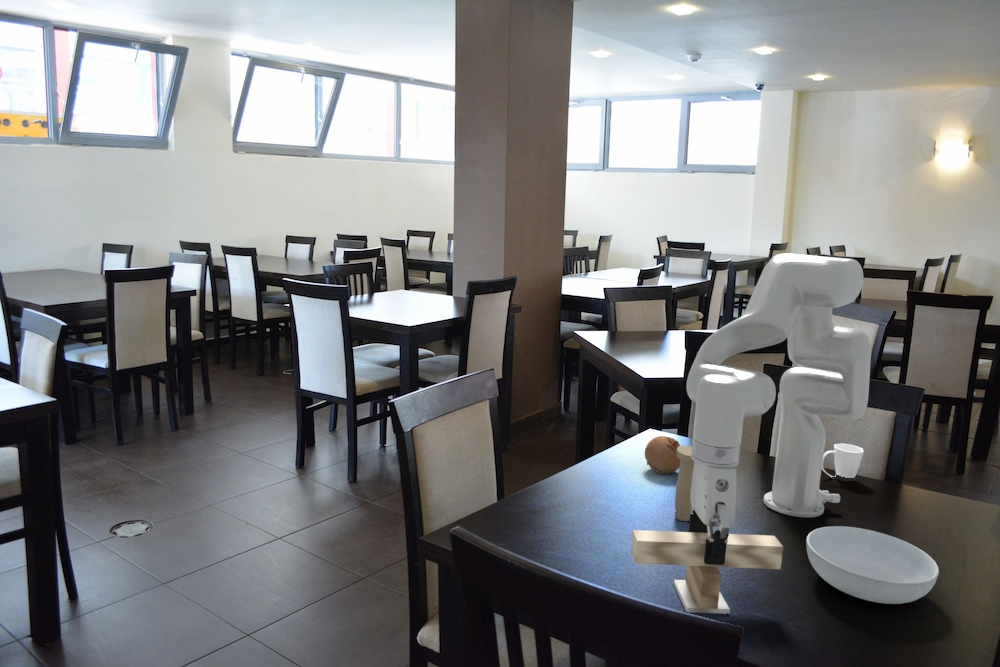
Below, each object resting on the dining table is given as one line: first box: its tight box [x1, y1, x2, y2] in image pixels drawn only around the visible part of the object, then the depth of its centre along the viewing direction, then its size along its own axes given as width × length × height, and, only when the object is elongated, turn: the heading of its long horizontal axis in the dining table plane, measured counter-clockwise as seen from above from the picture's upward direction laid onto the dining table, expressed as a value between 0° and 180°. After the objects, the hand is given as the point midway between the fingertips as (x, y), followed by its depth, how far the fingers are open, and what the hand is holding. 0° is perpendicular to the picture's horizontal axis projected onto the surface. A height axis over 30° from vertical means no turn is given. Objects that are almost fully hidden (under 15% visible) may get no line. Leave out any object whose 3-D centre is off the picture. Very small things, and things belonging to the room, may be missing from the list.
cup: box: [821, 443, 865, 478], centre depth 184 cm, size 7×10×8 cm
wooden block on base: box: [673, 566, 731, 615], centre depth 125 cm, size 7×9×7 cm
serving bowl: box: [805, 525, 940, 605], centre depth 131 cm, size 21×21×7 cm
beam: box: [630, 529, 784, 570], centre depth 124 cm, size 24×4×4 cm, turn 90°
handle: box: [674, 445, 695, 522], centre depth 155 cm, size 5×6×15 cm
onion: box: [644, 435, 681, 475], centre depth 183 cm, size 10×9×10 cm
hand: (705, 549), depth 124 cm, fingers open, 9 cm apart
